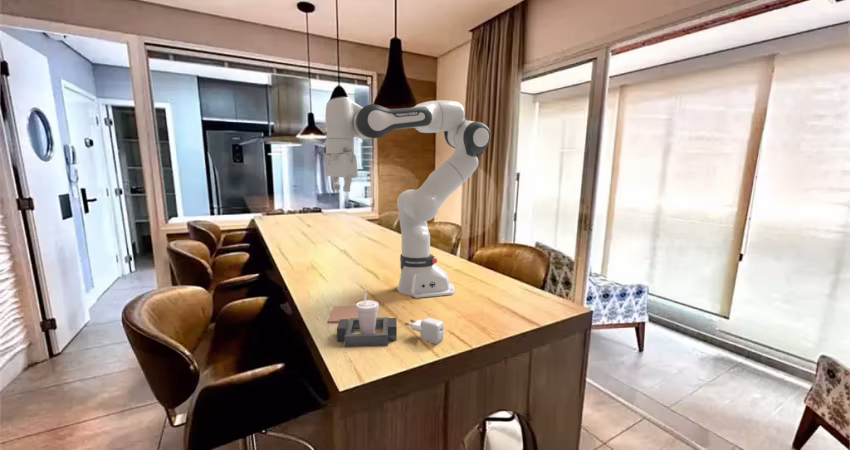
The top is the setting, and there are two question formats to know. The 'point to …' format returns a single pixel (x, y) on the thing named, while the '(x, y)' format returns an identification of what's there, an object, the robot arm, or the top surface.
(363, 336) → the grey rectangular frame
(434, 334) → the power adapter
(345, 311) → the coaster
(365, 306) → the smoothie
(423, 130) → the robot arm
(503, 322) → the top surface
